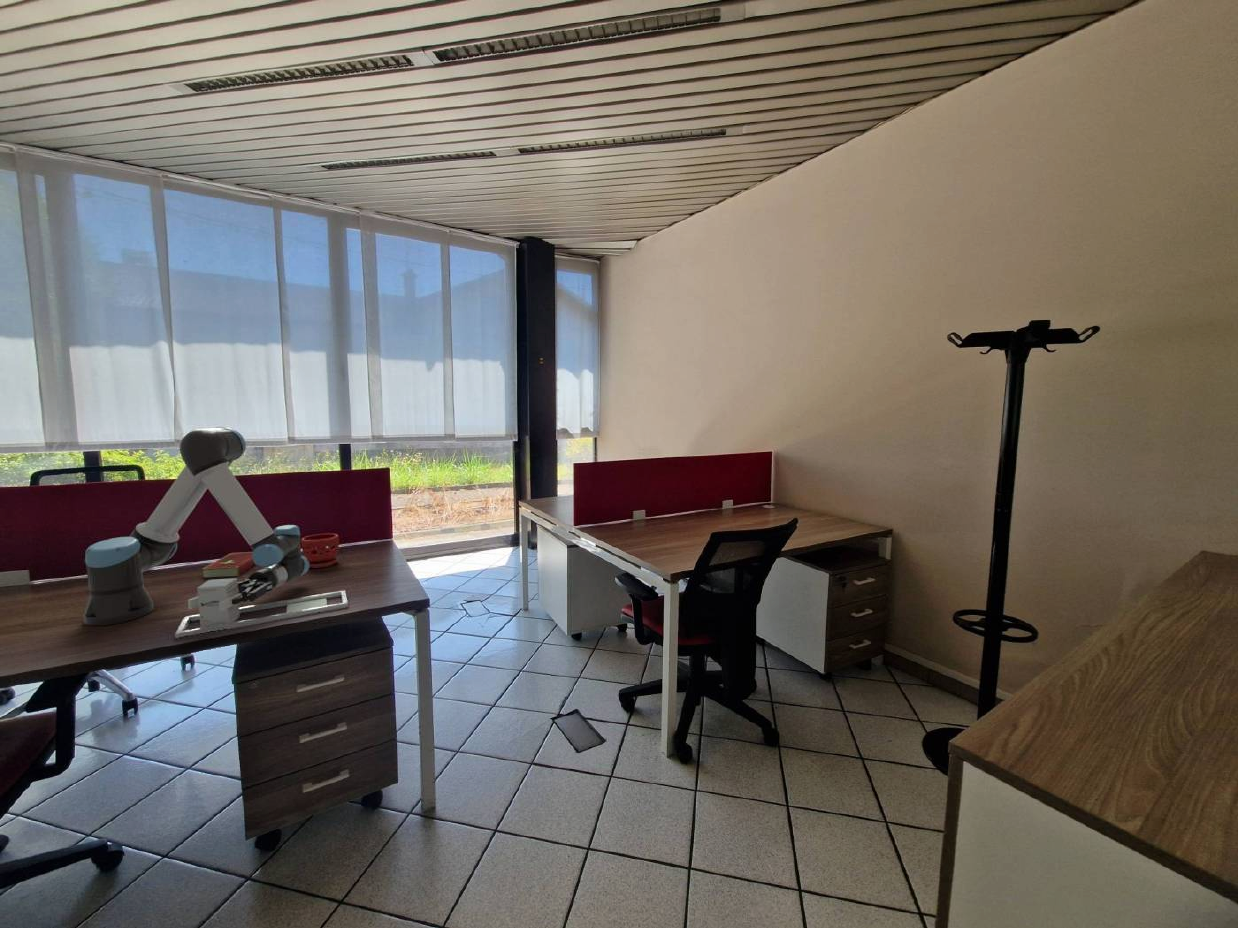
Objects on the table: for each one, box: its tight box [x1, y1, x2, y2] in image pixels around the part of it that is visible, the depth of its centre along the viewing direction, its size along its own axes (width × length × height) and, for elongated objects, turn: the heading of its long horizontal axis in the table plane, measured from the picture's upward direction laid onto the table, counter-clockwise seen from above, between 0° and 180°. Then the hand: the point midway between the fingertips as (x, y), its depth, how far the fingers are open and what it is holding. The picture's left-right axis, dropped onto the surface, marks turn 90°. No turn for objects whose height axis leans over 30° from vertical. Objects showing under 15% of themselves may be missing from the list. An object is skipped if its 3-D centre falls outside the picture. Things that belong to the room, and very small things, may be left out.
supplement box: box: [197, 577, 241, 628], centre depth 147 cm, size 7×7×13 cm
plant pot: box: [300, 533, 340, 569], centre depth 201 cm, size 13×13×12 cm
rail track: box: [174, 589, 349, 639], centre depth 154 cm, size 42×13×2 cm, turn 122°
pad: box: [285, 598, 328, 613], centre depth 159 cm, size 11×10×1 cm
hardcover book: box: [200, 551, 257, 579], centre depth 196 cm, size 12×21×4 cm, turn 13°
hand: (204, 605), depth 142 cm, fingers closed on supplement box, 9 cm apart
